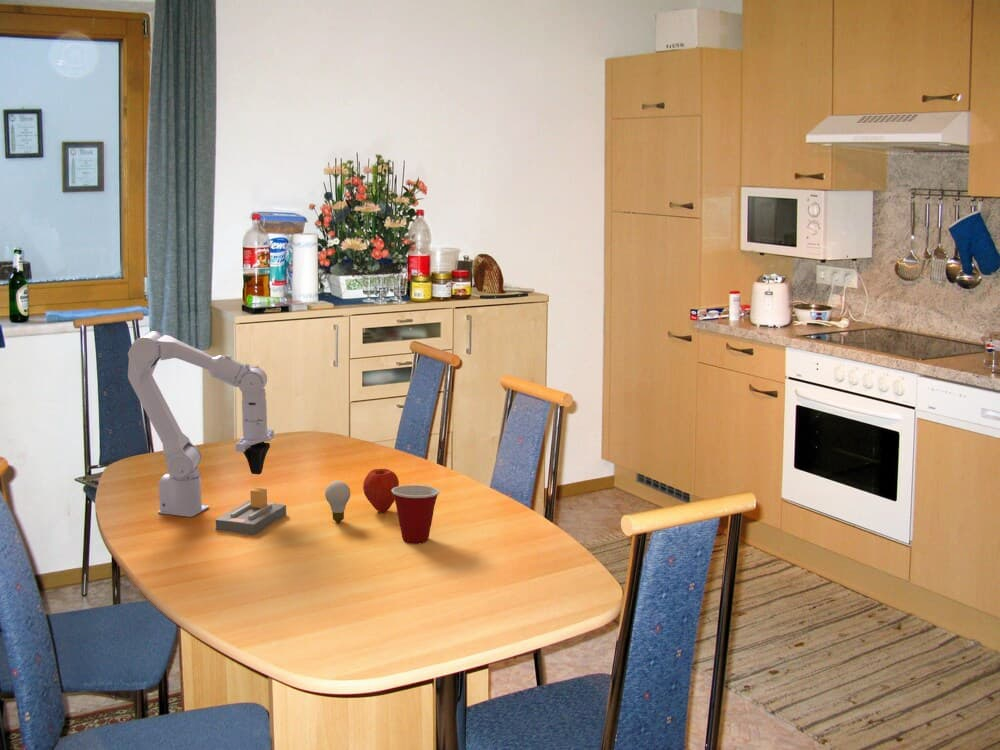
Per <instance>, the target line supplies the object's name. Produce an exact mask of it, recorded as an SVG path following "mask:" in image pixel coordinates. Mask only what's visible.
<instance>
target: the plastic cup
mask: <svg viewBox="0 0 1000 750" xmlns="http://www.w3.org/2000/svg"><path fill="white" fill-rule="evenodd" d="M391 491H392V493H393V495H394V499H395V501H394V503H395V506H396V512H397V518H398V523H399V527H400V533H401V537H402V541H403V542H404V543H405V544H409V543H410V545H420V544H419V543H421V544H424V543H423V542H425V543H426V541H427V542H428V540H429V537H430V532H431V526H432V523H433V517H434V511H435V505H436V502H437V500H438V496H439V494H440V492H441V491H440V489H439V488H437V487H434V486H431V485H429V486H428V485H421V484H420V485H419V484H408V485H407V484H406V485H399V486H398V487H395V488H393V489H392V490H391Z"/></svg>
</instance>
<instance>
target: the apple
mask: <svg viewBox="0 0 1000 750" xmlns="http://www.w3.org/2000/svg"><path fill="white" fill-rule="evenodd" d="M398 486H400V481H399V478H398V476H397V474H396V472H394V471H392V470H391V469H388V468H374V469H372V470H370V471H369V472H368V473H367V475H366V476H365V478H364V480H363V486H362V489H363V493H364V496H365V497H366V499H367V501H368V502H369V503H370V504H371V506H372V507H373V508H374V509H375V510H376V511H377V512H380V513H387V511H389V509H390V508H391V507H392V505H393V504H394V503H395V499H394V495H393V493H392V491H391V490H392V489H393V488H395V487H398Z"/></svg>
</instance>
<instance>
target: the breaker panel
mask: <svg viewBox="0 0 1000 750" xmlns="http://www.w3.org/2000/svg"><path fill="white" fill-rule="evenodd" d="M285 516H287V505H286V504H281V503H274V502H267V505H266V506H264V507H262V508H256V507H251V500H247V501H246V502H244V503H242V504H241V505H239V506H237V507H235V508H234V509H231V510H230V511H228V512H227V513H225V514H222V515H221V516H220V517H217V518H216V519H215V531H220V532H228V533H229V532H230V533H237V534H245V535H251V536H255V535H257V534H258V533H259V532H262V531H263V530H264V529H266V528H268V527H269V526H271V525H273V524H275V522H278V521H279V520H280V519H282V518H284V517H285Z"/></svg>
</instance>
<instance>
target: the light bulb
mask: <svg viewBox="0 0 1000 750" xmlns="http://www.w3.org/2000/svg"><path fill="white" fill-rule="evenodd" d="M324 491H325V492H324V495H325V499H326V501H327V503H328V504H329V506H330V509H331V513H332V520H333V521H334V522H336V523H340V522H342V521H343V520H345V510H346V506H347V503H348V502H349V500H350V497H351V488H350V486H349V485H348V484H347V483H345V482H344V481H342V480H333V481H331V482H330V483H329V484H328V485H327V487H326V488H325V490H324Z"/></svg>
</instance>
